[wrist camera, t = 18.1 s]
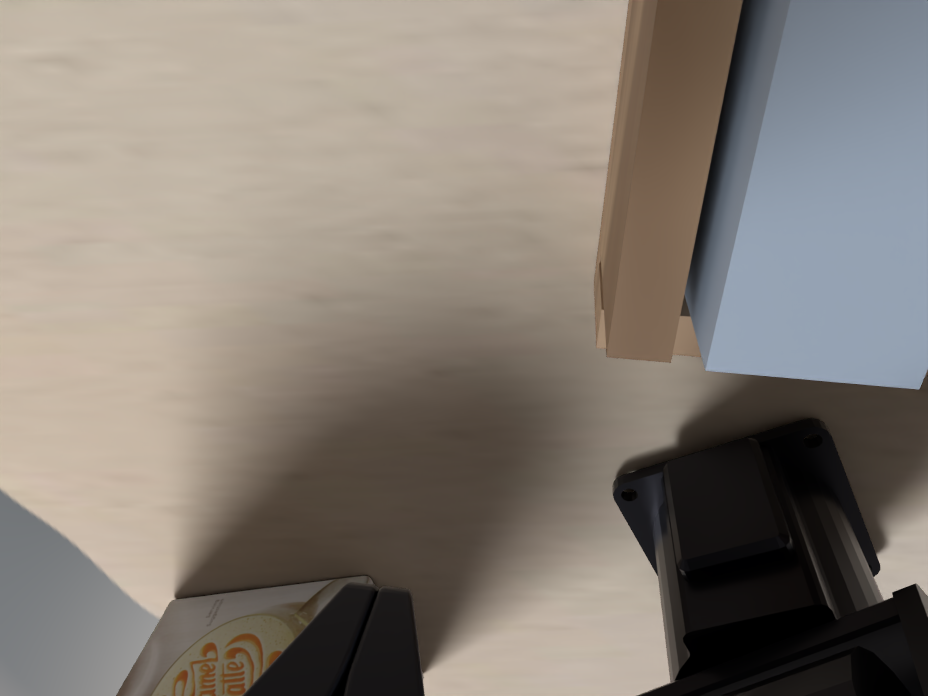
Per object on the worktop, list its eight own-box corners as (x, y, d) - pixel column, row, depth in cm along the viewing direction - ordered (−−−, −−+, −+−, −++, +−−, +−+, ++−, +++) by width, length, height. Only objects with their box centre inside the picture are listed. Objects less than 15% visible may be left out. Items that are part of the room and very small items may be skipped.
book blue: (921, -97, 14) (1125, -102, 8) (819, 248, 17) (918, 389, 12) (729, -101, 14) (814, -108, 9) (669, 237, 18) (705, 371, 12)
